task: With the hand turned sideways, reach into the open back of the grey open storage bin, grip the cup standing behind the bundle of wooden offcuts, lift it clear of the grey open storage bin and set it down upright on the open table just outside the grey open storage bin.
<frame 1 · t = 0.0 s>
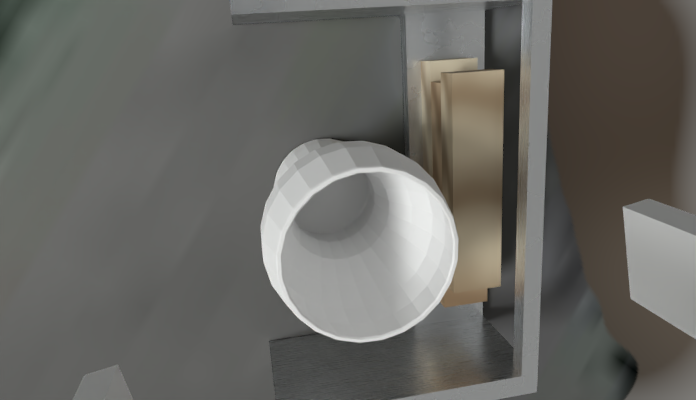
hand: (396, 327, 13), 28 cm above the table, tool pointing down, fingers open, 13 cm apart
cup: (324, 187, 41), on the table
offcut bundle: (445, 178, 42), point 1 cm above the table, touching grey open storage bin
grey open storage bin: (368, 183, 42), on the table
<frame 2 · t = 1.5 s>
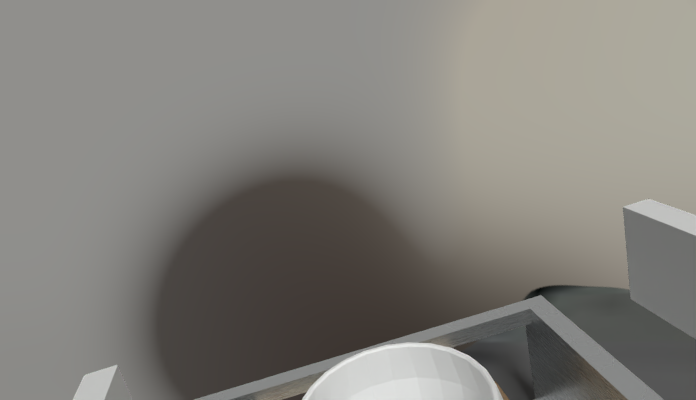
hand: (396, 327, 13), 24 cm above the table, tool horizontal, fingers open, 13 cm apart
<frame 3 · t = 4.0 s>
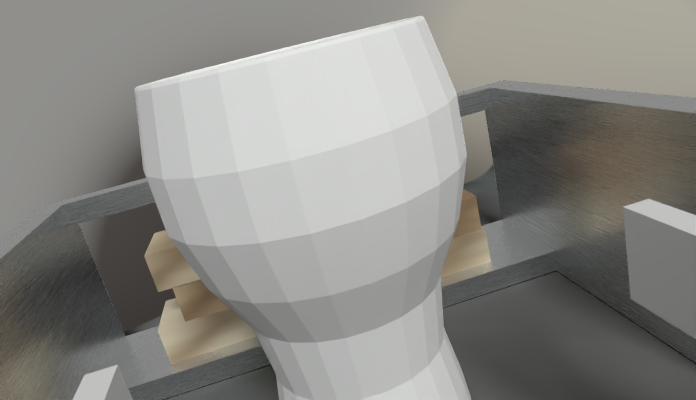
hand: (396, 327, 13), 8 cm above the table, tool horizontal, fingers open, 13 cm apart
offcut bundle: (331, 296, 31), point 1 cm above the table, touching grey open storage bin
grey open storage bin: (359, 371, 25), on the table
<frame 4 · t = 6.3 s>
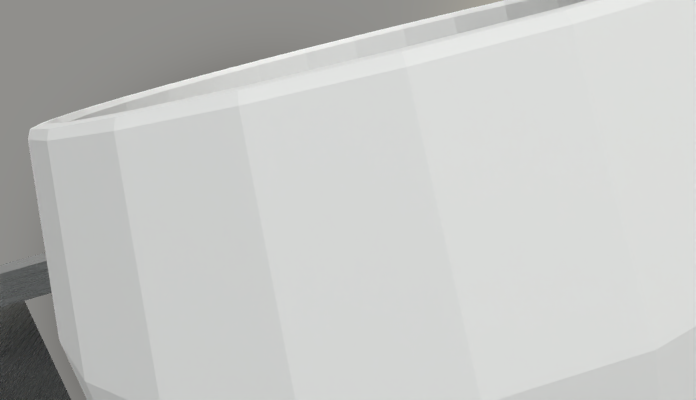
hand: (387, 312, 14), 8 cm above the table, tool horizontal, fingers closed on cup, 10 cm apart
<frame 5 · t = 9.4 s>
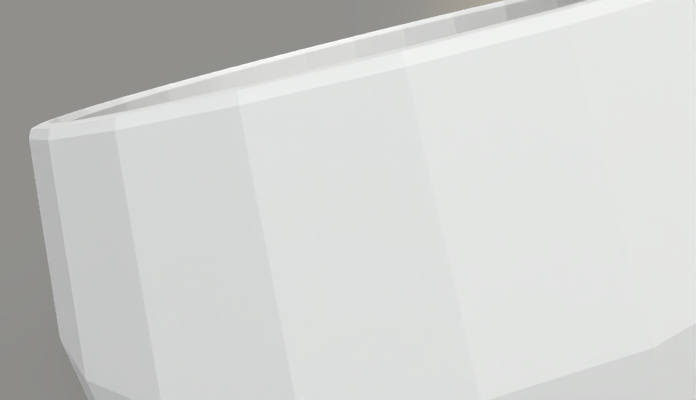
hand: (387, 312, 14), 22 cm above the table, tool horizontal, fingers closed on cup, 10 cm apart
when the fingers open (9 cm above the table, at t = 13.0 s): cup drops 1 cm, on the table.
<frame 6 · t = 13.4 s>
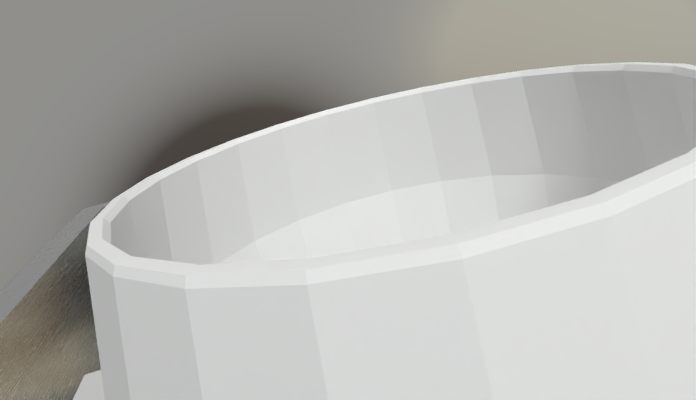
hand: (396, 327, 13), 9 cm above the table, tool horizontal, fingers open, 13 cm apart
grey open storage bin: (358, 350, 30), on the table
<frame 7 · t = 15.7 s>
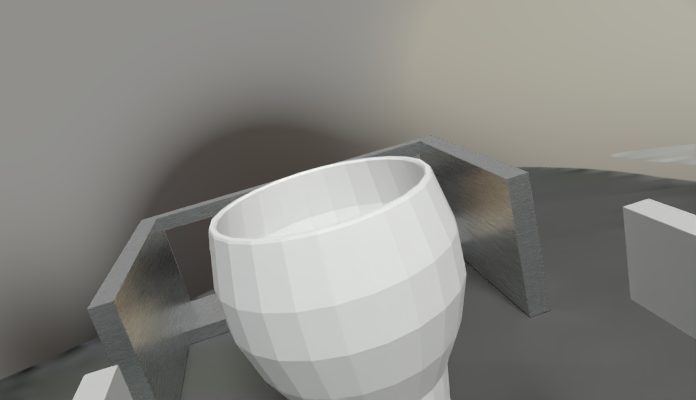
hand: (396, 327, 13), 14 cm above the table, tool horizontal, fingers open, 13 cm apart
grey open storage bin: (335, 314, 44), on the table
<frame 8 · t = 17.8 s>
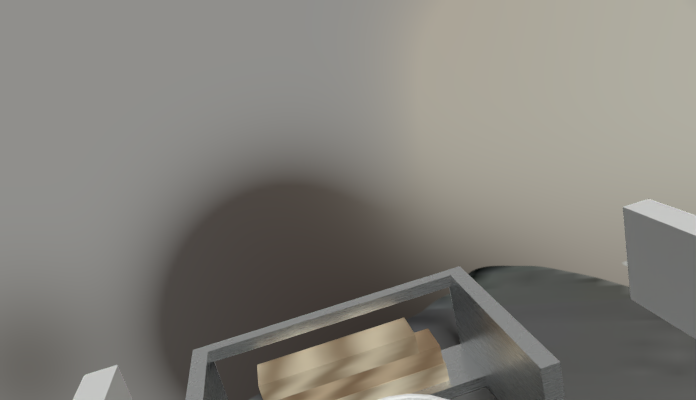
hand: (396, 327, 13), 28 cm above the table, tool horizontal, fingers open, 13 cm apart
offcut bundle: (357, 399, 53), point 1 cm above the table, touching grey open storage bin
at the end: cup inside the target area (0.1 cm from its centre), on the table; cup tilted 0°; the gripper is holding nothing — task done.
